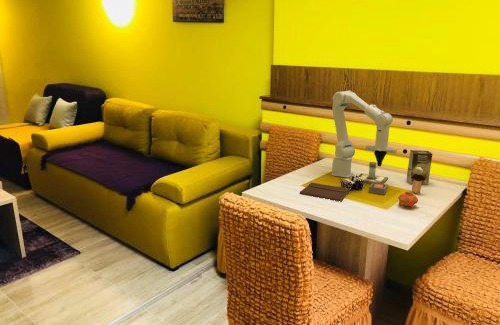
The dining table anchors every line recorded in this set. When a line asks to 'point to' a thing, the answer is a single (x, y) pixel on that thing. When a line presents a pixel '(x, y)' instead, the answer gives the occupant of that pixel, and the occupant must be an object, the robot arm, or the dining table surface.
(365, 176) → the brown picture frame
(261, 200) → the dining table surface
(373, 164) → the marker
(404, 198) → the pot
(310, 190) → the notebook
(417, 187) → the grandmother figurine
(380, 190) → the button housing
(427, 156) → the coffee box
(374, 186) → the button
